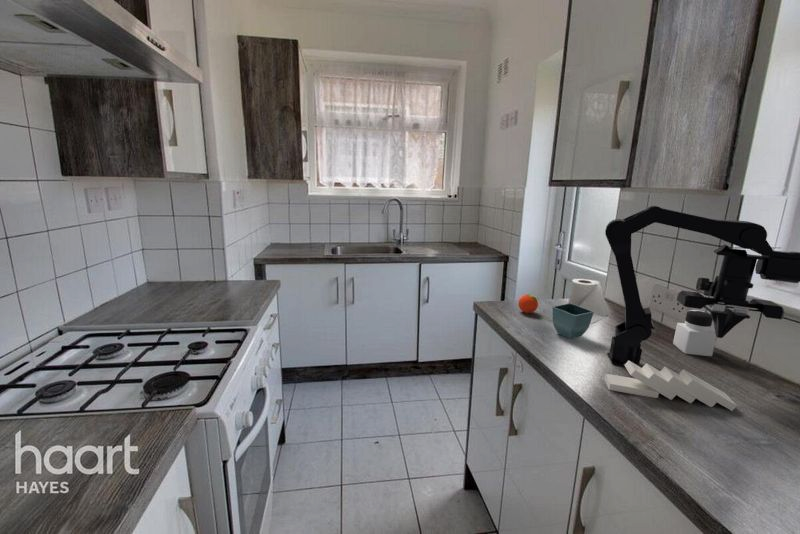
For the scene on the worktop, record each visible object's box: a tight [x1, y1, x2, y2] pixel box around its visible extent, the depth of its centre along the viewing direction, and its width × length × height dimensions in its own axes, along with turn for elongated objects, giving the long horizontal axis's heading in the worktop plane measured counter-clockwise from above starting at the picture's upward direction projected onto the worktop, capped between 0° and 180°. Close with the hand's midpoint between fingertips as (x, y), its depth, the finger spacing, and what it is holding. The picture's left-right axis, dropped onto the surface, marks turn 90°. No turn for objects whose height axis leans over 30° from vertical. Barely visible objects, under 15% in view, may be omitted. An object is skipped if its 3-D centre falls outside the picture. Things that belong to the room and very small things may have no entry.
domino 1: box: [604, 373, 660, 399], centre depth 88 cm, size 2×5×10 cm
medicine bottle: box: [672, 309, 718, 357], centre depth 108 cm, size 7×7×12 cm
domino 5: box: [678, 369, 738, 412], centre depth 83 cm, size 2×5×10 cm
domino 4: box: [659, 366, 717, 408], centre depth 84 cm, size 2×5×10 cm
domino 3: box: [641, 363, 697, 404], centre depth 85 cm, size 2×5×10 cm
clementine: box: [517, 294, 541, 314], centre depth 136 cm, size 8×7×7 cm
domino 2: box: [624, 360, 677, 401], centre depth 86 cm, size 2×5×10 cm
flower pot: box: [552, 302, 595, 340], centre depth 117 cm, size 9×9×9 cm
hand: (718, 337), depth 90 cm, fingers closed
